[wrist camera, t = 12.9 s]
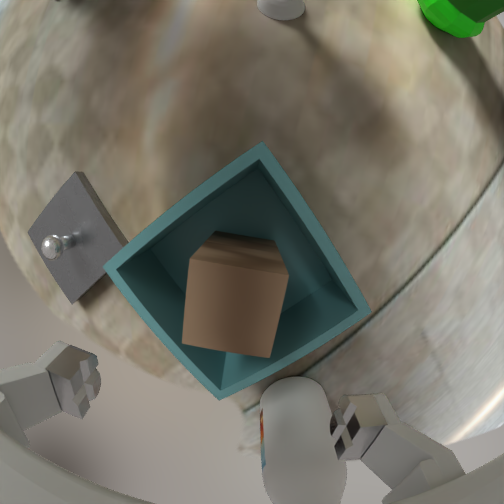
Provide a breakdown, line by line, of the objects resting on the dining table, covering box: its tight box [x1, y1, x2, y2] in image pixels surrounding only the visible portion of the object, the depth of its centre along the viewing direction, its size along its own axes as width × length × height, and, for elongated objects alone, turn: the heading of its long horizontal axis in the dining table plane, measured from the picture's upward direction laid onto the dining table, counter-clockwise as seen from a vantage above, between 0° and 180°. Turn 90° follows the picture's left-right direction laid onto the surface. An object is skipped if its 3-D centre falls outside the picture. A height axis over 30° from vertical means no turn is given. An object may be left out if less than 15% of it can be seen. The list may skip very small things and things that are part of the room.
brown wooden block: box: [182, 231, 289, 358], centre depth 20 cm, size 5×5×10 cm
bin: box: [103, 141, 372, 400], centre depth 22 cm, size 14×14×8 cm
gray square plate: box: [28, 172, 128, 304], centre depth 22 cm, size 10×10×6 cm
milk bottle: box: [260, 376, 347, 504], centre depth 19 cm, size 8×8×20 cm
